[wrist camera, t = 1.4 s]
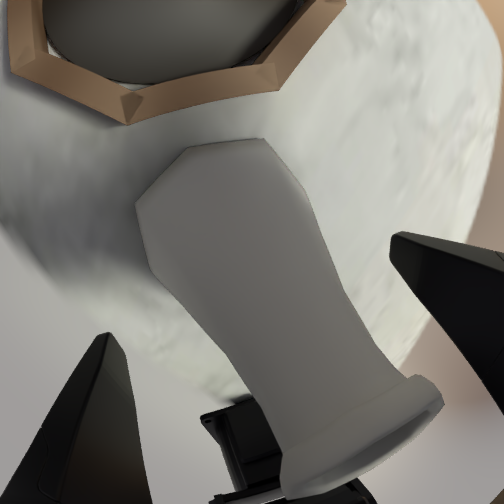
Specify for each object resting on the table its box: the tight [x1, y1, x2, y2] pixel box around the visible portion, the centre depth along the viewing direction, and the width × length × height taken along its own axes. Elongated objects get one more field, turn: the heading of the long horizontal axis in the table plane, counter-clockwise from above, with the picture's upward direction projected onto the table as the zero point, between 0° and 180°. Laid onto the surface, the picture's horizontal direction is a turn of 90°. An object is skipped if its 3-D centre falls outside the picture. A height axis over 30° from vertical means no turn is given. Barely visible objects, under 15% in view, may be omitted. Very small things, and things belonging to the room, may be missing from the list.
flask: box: [134, 138, 445, 500], centre depth 8 cm, size 7×7×10 cm
